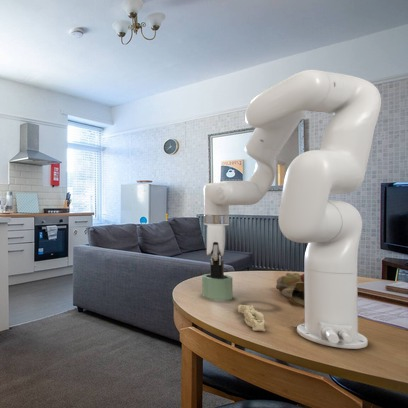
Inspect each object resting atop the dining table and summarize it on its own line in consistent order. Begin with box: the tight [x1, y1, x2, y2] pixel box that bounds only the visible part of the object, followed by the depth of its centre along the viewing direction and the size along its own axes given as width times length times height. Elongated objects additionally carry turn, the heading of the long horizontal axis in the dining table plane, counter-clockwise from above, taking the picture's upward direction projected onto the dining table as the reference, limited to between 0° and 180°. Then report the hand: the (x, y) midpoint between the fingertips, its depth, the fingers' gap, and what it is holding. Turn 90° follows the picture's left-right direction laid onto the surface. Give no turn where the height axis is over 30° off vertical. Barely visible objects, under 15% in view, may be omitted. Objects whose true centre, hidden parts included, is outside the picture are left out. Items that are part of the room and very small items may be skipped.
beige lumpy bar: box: [237, 304, 266, 332], centre depth 87 cm, size 17×4×3 cm, turn 169°
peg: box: [209, 258, 225, 279], centre depth 108 cm, size 4×4×12 cm
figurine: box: [275, 272, 305, 308], centre depth 103 cm, size 15×9×20 cm
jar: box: [201, 273, 234, 301], centre depth 108 cm, size 9×9×7 cm
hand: (217, 274), depth 108 cm, fingers open, 6 cm apart
